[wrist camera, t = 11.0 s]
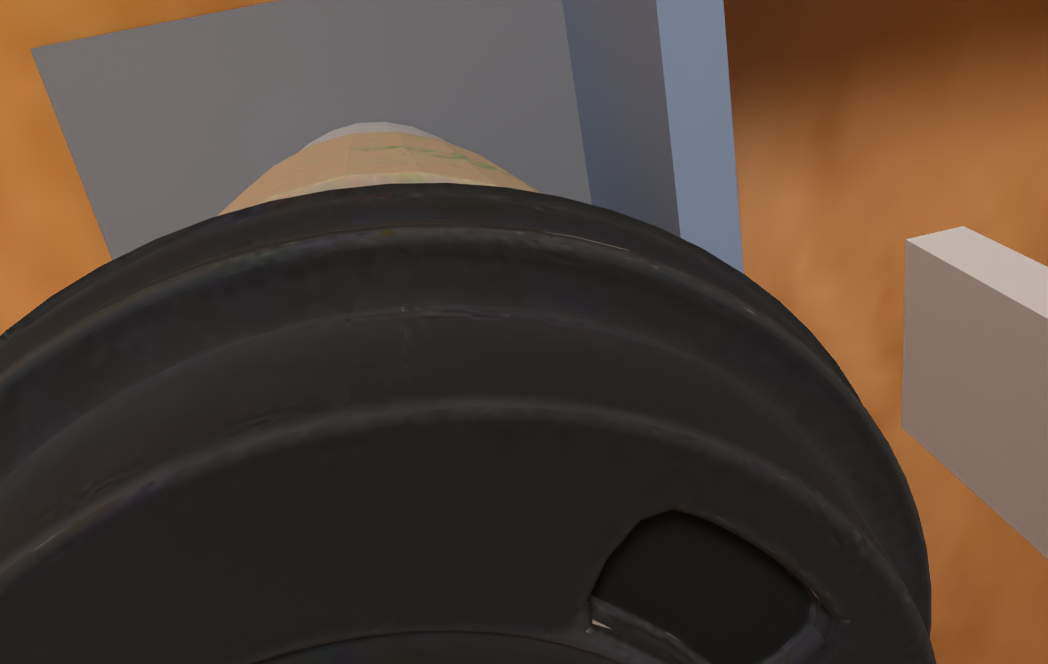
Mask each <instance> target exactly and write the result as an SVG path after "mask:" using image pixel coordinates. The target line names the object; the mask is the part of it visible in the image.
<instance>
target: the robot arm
mask: <svg viewBox="0 0 1048 664" xmlns="http://www.w3.org/2000/svg"><path fill="white" fill-rule="evenodd" d="M902 428H903V429H904V430H905V431H906V432H907V433H909V434H910V435H911V436H912V437H913V438H914V439H915V440H916V441H917V442H918V443H920V444H921V445H922V446H923V447H924V448H925V449H926V450H927V451H928V452H929V453H931V454H932V455H933V456H934V457H935V458H936V459H937V460H938V461H939V462H941V463H942V464H943V465H944V466H945V467H946V468H947V469H948V470H949V471H950V472H952V473H953V474H954V475H955V476H956V477H957V478H958V479H959V480H960V481H962V482H963V483H964V484H965V485H966V486H967V487H968V488H969V489H970V490H971V491H973V492H974V493H975V494H976V495H977V496H978V497H979V498H980V499H981V500H983V501H984V502H985V503H986V504H987V505H988V506H989V507H990V508H991V509H992V510H994V511H995V512H996V513H997V514H998V515H999V516H1000V517H1001V518H1002V519H1004V520H1005V521H1006V522H1007V523H1008V524H1009V525H1010V526H1011V527H1012V528H1013V529H1015V530H1016V531H1017V532H1018V533H1019V534H1020V535H1021V536H1022V537H1023V538H1024V539H1026V540H1027V541H1028V542H1029V543H1030V544H1031V545H1032V546H1033V547H1034V548H1036V549H1037V550H1038V551H1039V552H1040V553H1041V554H1042V555H1043V556H1044V557H1045V558H1047V559H1048V267H1047V266H1045V265H1043V264H1041V263H1039V262H1037V261H1034V260H1032V259H1030V258H1028V257H1026V256H1024V255H1022V254H1020V253H1018V252H1016V251H1014V250H1012V249H1010V248H1008V247H1006V246H1003V245H1001V244H999V243H997V242H995V241H993V240H991V239H989V238H987V237H985V236H983V235H981V234H979V233H977V232H975V231H972V230H970V229H968V228H966V227H964V226H962V227H958V228H953V229H949V230H944V231H940V232H936V233H931V234H927V235H923V236H918V237H914V238H910V239H906V250H905V298H904V347H903V395H902Z"/></svg>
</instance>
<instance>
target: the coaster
mask: <svg viewBox="0 0 1048 664" xmlns="http://www.w3.org/2000/svg"><path fill="white" fill-rule="evenodd" d="M31 52H32V55H33V57H34V60H35V62H36V65H37V67H38V70H39V73H40V75H41V78H42V80H43V83H44V85H45V88H46V91H47V93H48V96H49V98H50V101H51V103H52V106H53V109H54V111H55V114H56V116H57V119H58V121H59V124H60V127H61V129H62V132H63V134H64V137H65V139H66V142H67V145H68V147H69V150H70V152H71V155H72V157H73V160H74V163H75V165H76V168H77V170H78V173H79V175H80V178H81V181H82V183H83V186H84V188H85V191H86V193H87V196H88V199H89V201H90V204H91V206H92V209H93V211H94V214H95V217H96V219H97V222H98V224H99V227H100V229H101V232H102V235H103V237H104V240H105V242H106V245H107V247H108V250H109V253H110V255H111V258H112V260H114V259H116V258H118V257H120V256H122V255H124V254H126V253H128V252H131V251H133V250H135V249H137V248H139V247H141V246H143V245H145V244H147V243H149V242H151V241H153V240H155V239H157V238H160V237H162V236H165V235H168V234H170V233H173V232H175V231H178V230H181V229H183V228H186V227H189V226H191V225H194V224H196V223H199V222H202V221H204V220H207V219H209V218H212V217H216V216H217V215H219V214H220V213H221V212H222V211H223V210H224V209H225V208H226V207H227V206H228V205H229V204H230V203H231V202H233V201H234V200H235V199H236V198H237V197H238V196H239V195H240V194H241V193H242V192H244V191H245V190H246V189H247V188H248V187H249V186H251V185H252V184H253V183H254V182H255V181H256V180H258V179H259V178H260V177H261V176H262V175H264V174H265V173H266V172H267V171H268V170H269V169H271V168H272V167H273V166H274V165H276V164H278V163H280V162H282V161H283V160H285V159H287V158H289V157H291V156H293V155H294V154H296V153H298V152H299V151H301V150H302V149H303V148H304V147H305V146H306V145H308V144H309V143H311V142H312V141H314V140H316V139H318V138H320V137H321V136H323V135H325V134H327V133H329V132H330V131H332V130H336V129H339V128H343V127H346V126H349V125H353V124H356V123H369V122H389V123H395V124H400V125H406V126H411V127H414V128H417V129H420V130H422V131H425V132H427V133H430V134H433V135H435V136H438V137H440V138H441V139H443V140H445V141H446V142H448V143H451V144H453V145H456V146H459V147H461V148H464V149H466V150H469V151H471V152H474V153H477V154H479V155H481V156H482V157H484V158H486V159H487V160H489V161H491V162H492V163H494V164H496V165H497V166H499V167H501V168H502V169H504V170H506V171H507V172H509V173H511V174H512V175H514V176H516V177H517V178H519V179H520V180H522V181H523V182H525V183H526V184H528V185H529V186H531V187H533V188H534V189H536V190H537V191H539V192H540V193H543V194H548V195H554V196H560V197H564V198H568V199H572V200H575V201H579V202H583V203H587V204H591V205H592V203H591V196H590V189H589V182H588V175H587V168H586V162H585V155H584V148H583V141H582V134H581V127H580V120H579V114H578V107H577V100H576V93H575V86H574V79H573V72H572V66H571V59H570V52H569V45H568V38H567V31H566V25H565V18H564V11H563V4H562V0H278V1H273V2H268V3H262V4H257V5H252V6H247V7H242V8H237V9H231V10H226V11H221V12H216V13H211V14H206V15H200V16H195V17H190V18H185V19H180V20H175V21H169V22H164V23H159V24H154V25H149V26H144V27H138V28H133V29H128V30H123V31H118V32H113V33H108V34H102V35H97V36H92V37H87V38H82V39H77V40H71V41H66V42H61V43H56V44H51V45H46V46H40V47H37V48H33V49H31Z"/></svg>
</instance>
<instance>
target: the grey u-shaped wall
mask: <svg viewBox="0 0 1048 664" xmlns="http://www.w3.org/2000/svg"><path fill="white" fill-rule="evenodd" d="M562 4H563V11H564V18H565V25H566V31H567V38H568V45H569V52H570V59H571V66H572V72H573V79H574V86H575V93H576V100H577V107H578V114H579V120H580V127H581V134H582V141H583V148H584V155H585V162H586V168H587V175H588V182H589V189H590V196H591V203H592V205H595V206H598V207H602V208H606V209H610V210H613V211H616V212H619V213H621V214H624V215H627V216H629V217H632V218H635V219H638V220H640V221H643V222H646V223H648V224H651V225H654V226H657V227H659V228H661V229H664V230H666V231H668V232H670V233H672V234H674V235H676V236H678V237H680V238H682V239H684V240H686V241H688V242H690V243H692V244H694V245H697V246H699V247H701V248H703V249H705V250H706V251H708V252H709V253H711V254H713V255H714V256H716V257H717V258H719V259H721V260H722V261H724V262H725V263H727V264H729V265H730V266H732V267H734V268H735V269H737V270H738V271H740V272H742V273H743V274H744V270H743V256H742V243H741V230H740V216H739V203H738V189H737V176H736V163H735V149H734V136H733V123H732V109H731V96H730V82H729V69H728V56H727V42H726V29H725V15H724V2H723V0H562Z"/></svg>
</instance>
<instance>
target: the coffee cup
mask: <svg viewBox="0 0 1048 664" xmlns="http://www.w3.org/2000/svg"><path fill="white" fill-rule="evenodd" d="M930 630H931V582H930V573H929V565H928V556H927V548H926V544H925V539H924V535H923V531H922V526H921V522H920V518H919V514H918V510H917V508H916V505H915V502H914V499H913V496H912V494H911V491H910V488H909V485H908V483H907V480H906V477H905V475H904V473H903V471H902V469H901V467H900V465H899V463H898V461H897V459H896V457H895V455H894V453H893V451H892V449H891V447H890V445H889V443H888V442H887V440H886V439H885V437H884V435H883V434H882V432H881V431H880V429H879V428H878V426H877V425H876V423H875V422H874V420H873V419H872V417H871V416H870V414H869V413H868V411H867V410H866V408H865V407H864V406H863V405H862V403H861V401H860V399H859V397H858V395H857V393H856V392H855V390H854V389H853V387H852V386H851V384H850V383H849V381H848V380H847V378H846V377H845V375H844V374H843V372H842V370H841V369H840V367H839V366H838V364H837V363H836V361H835V360H834V359H833V358H832V357H831V355H830V354H829V353H828V352H827V351H826V349H825V348H824V347H823V346H822V345H821V343H820V342H819V341H818V340H817V339H816V337H815V336H814V335H813V334H812V333H811V331H810V330H809V329H808V328H807V327H806V326H805V325H804V324H802V323H801V322H800V321H799V320H798V319H797V318H796V317H795V316H794V315H793V314H792V313H791V312H790V311H789V310H788V309H787V308H786V307H785V306H784V305H783V304H782V303H781V302H780V301H778V300H777V299H776V298H775V297H773V296H772V295H771V294H769V293H768V292H767V291H765V290H764V289H763V288H761V287H760V286H759V285H758V284H756V283H755V282H754V281H752V280H751V279H750V278H748V277H747V276H746V275H745V274H743V273H742V272H740V271H738V270H737V269H735V268H734V267H732V266H730V265H729V264H727V263H725V262H724V261H722V260H721V259H719V258H717V257H716V256H714V255H713V254H711V253H709V252H708V251H706V250H705V249H703V248H701V247H699V246H697V245H694V244H692V243H690V242H688V241H686V240H684V239H682V238H680V237H678V236H676V235H674V234H672V233H670V232H668V231H666V230H664V229H661V228H659V227H657V226H654V225H651V224H648V223H646V222H643V221H640V220H638V219H635V218H632V217H629V216H627V215H624V214H621V213H619V212H616V211H613V210H610V209H606V208H602V207H598V206H595V205H591V204H587V203H583V202H579V201H575V200H572V199H568V198H564V197H560V196H554V195H548V194H543V193H540V192H539V191H537V190H536V189H534V188H533V187H531V186H529V185H528V184H526V183H525V182H523V181H522V180H520V179H519V178H517V177H516V176H514V175H512V174H511V173H509V172H507V171H506V170H504V169H502V168H501V167H499V166H497V165H496V164H494V163H492V162H491V161H489V160H487V159H486V158H484V157H482V156H481V155H479V154H477V153H474V152H471V151H469V150H466V149H464V148H461V147H459V146H456V145H453V144H451V143H448V142H446V141H445V140H443V139H441V138H440V137H438V136H435V135H433V134H430V133H427V132H425V131H422V130H420V129H417V128H414V127H411V126H406V125H400V124H395V123H389V122H369V123H356V124H353V125H349V126H346V127H343V128H339V129H336V130H332V131H330V132H329V133H327V134H325V135H323V136H321V137H320V138H318V139H316V140H314V141H312V142H311V143H309V144H308V145H306V146H305V147H304V148H303V149H302V150H301V151H299V152H298V153H296V154H294V155H293V156H291V157H289V158H287V159H285V160H283V161H282V162H280V163H278V164H276V165H274V166H273V167H272V168H271V169H269V170H268V171H267V172H266V173H265V174H264V175H262V176H261V177H260V178H259V179H258V180H256V181H255V182H254V183H253V184H252V185H251V186H249V187H248V188H247V189H246V190H245V191H244V192H242V193H241V194H240V195H239V196H238V197H237V198H236V199H235V200H234V201H233V202H231V203H230V204H229V205H228V206H227V207H226V208H225V209H224V210H223V211H222V212H221V213H220V214H219V215H217V216H216V217H212V218H209V219H207V220H204V221H202V222H199V223H196V224H194V225H191V226H189V227H186V228H183V229H181V230H178V231H175V232H173V233H170V234H168V235H165V236H162V237H160V238H157V239H155V240H153V241H151V242H149V243H147V244H145V245H143V246H141V247H139V248H137V249H135V250H133V251H131V252H128V253H126V254H124V255H122V256H120V257H118V258H116V259H114V260H112V261H110V262H108V263H106V264H104V265H102V266H100V267H99V268H97V269H95V270H94V271H92V272H91V273H89V274H87V275H86V276H84V277H82V278H81V279H79V280H77V281H76V282H74V283H72V284H71V285H69V286H68V287H66V288H64V289H63V290H61V291H59V292H58V293H56V294H54V295H53V296H51V297H50V298H48V299H47V300H46V301H45V302H43V303H42V304H41V305H39V306H38V307H37V308H35V309H34V310H33V311H31V312H30V313H29V314H27V315H26V316H25V317H24V318H22V319H21V320H20V321H18V322H17V323H16V324H14V325H13V326H12V327H10V328H9V329H8V330H6V331H5V332H4V333H3V334H2V335H1V336H0V664H936V661H935V656H934V652H933V649H932V645H931V641H930Z"/></svg>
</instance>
